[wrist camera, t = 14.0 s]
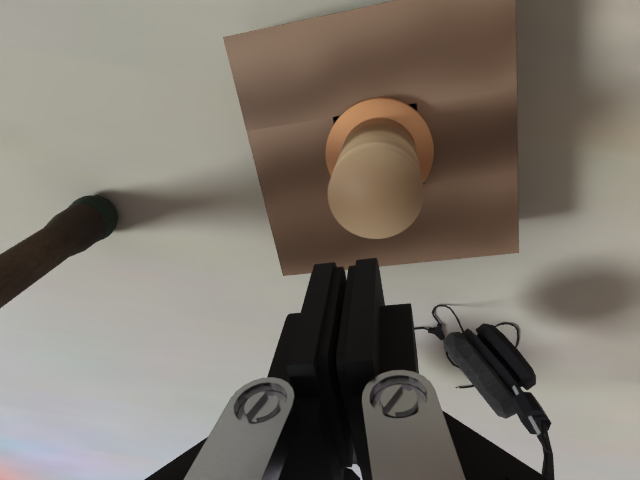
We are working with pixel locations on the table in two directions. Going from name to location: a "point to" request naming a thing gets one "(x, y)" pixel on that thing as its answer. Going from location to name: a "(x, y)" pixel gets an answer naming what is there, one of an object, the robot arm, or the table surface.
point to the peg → (378, 167)
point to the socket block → (393, 82)
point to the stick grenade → (55, 244)
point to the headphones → (495, 380)
